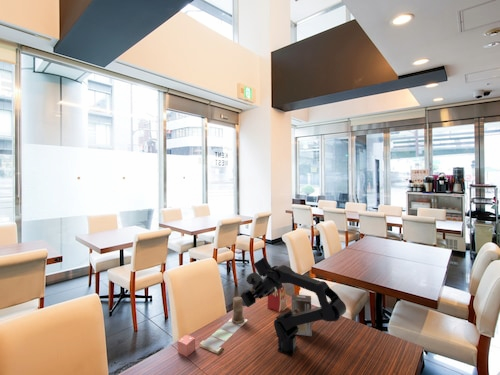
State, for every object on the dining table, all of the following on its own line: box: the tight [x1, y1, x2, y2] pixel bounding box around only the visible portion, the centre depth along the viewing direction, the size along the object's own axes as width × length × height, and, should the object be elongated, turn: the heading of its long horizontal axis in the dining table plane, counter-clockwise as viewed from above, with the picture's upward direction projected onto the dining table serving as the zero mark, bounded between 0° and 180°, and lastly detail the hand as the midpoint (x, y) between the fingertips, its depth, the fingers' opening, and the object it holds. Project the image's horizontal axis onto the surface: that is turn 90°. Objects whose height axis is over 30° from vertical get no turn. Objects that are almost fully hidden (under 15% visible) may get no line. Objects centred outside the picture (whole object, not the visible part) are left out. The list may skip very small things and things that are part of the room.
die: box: [177, 334, 196, 358], centre depth 107 cm, size 5×5×5 cm
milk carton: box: [266, 283, 288, 313], centre depth 140 cm, size 9×9×20 cm
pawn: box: [231, 296, 245, 325], centre depth 127 cm, size 6×6×11 cm
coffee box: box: [291, 293, 313, 337], centre depth 120 cm, size 9×6×16 cm
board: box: [198, 317, 248, 355], centre depth 118 cm, size 10×26×1 cm, turn 150°
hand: (249, 301), depth 121 cm, fingers open, 9 cm apart
